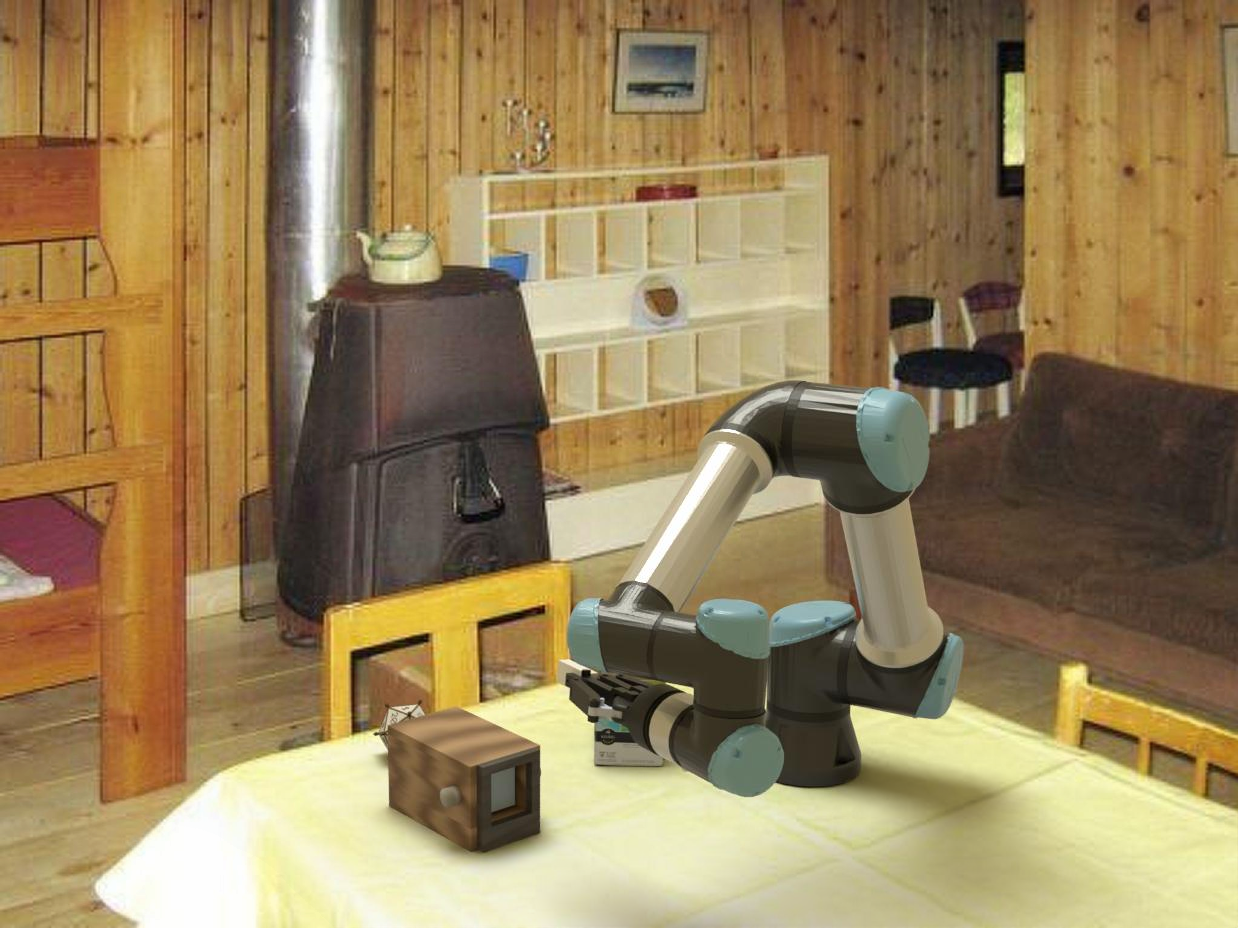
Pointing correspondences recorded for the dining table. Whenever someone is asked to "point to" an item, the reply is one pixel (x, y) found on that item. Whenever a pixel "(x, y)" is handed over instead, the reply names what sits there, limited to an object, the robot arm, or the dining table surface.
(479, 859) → the dining table surface
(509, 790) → the peg
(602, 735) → the tea box
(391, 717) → the game die
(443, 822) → the wooden peg box
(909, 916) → the dining table surface
